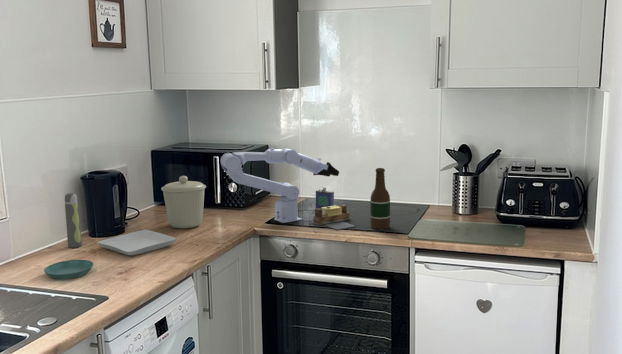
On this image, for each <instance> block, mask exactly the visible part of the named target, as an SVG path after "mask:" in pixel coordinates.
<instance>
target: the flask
mask: <svg viewBox="0 0 622 354" xmlns="http://www.w3.org/2000/svg"><path fill="white" fill-rule="evenodd" d="M334 205H335V192H334V191H331V190H327V187H322V189H317V190H315V209H317V208H320V209H321V207H327V206H334Z"/></svg>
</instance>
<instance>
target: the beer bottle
mask: <svg viewBox="0 0 622 354" xmlns="http://www.w3.org/2000/svg"><path fill="white" fill-rule="evenodd" d="M374 172H375V183H374V184H375V185H374V188H373V190H372V192H371V193H370V210H369V211H370V217H369V218H370V228H371V229H373V230H378V231H379V230H381V231H382V230H387V229H389V228H390V227H391V196H390V193H389V191H388V190H387V188H386V182H385V177H386V175H385V172H386V170H385V168H383V167H378V168H375V171H374Z"/></svg>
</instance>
